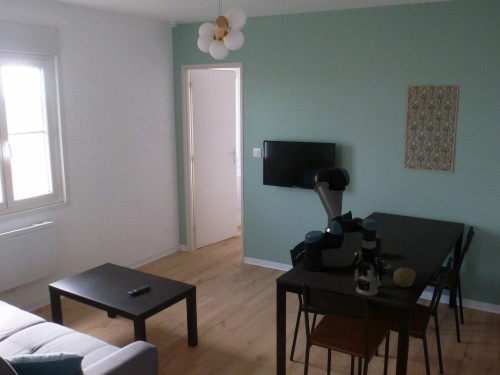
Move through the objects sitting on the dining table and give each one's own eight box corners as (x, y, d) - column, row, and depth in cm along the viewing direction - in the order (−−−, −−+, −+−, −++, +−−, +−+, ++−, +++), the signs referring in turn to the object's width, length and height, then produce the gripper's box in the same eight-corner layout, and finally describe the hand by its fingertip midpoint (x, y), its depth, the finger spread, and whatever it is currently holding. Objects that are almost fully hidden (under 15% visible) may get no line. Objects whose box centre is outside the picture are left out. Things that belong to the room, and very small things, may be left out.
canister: (382, 258, 317) (383, 234, 313) (362, 258, 319) (363, 233, 315) (380, 252, 329) (381, 228, 326) (361, 251, 331) (362, 227, 328)
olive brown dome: (406, 291, 265) (407, 273, 263) (388, 284, 274) (389, 267, 272) (418, 286, 271) (419, 268, 269) (400, 279, 281) (401, 262, 279)
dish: (352, 292, 264) (352, 290, 264) (361, 285, 273) (362, 283, 273) (372, 297, 257) (372, 295, 257) (381, 290, 266) (381, 288, 266)
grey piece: (358, 289, 265) (358, 269, 262) (364, 285, 270) (365, 266, 268) (369, 293, 260) (370, 272, 258) (375, 289, 265) (376, 269, 263)
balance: (351, 282, 278) (352, 253, 275) (356, 278, 284) (357, 250, 280) (387, 291, 264) (388, 261, 261) (392, 287, 270) (393, 258, 266)
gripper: (345, 244, 265) (344, 279, 269) (387, 253, 249) (385, 290, 253) (351, 241, 270) (350, 275, 275) (393, 249, 255) (391, 286, 259)
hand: (367, 282), depth 264 cm, fingers open, 13 cm apart
